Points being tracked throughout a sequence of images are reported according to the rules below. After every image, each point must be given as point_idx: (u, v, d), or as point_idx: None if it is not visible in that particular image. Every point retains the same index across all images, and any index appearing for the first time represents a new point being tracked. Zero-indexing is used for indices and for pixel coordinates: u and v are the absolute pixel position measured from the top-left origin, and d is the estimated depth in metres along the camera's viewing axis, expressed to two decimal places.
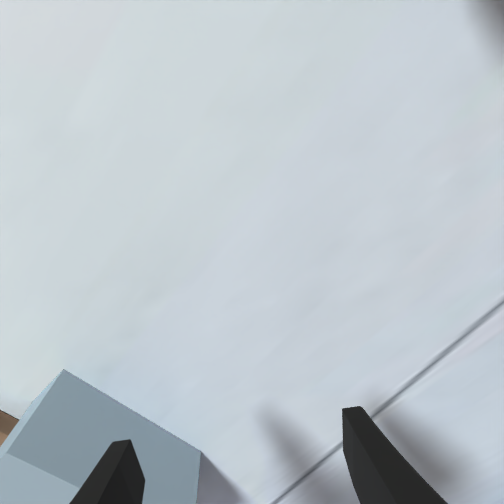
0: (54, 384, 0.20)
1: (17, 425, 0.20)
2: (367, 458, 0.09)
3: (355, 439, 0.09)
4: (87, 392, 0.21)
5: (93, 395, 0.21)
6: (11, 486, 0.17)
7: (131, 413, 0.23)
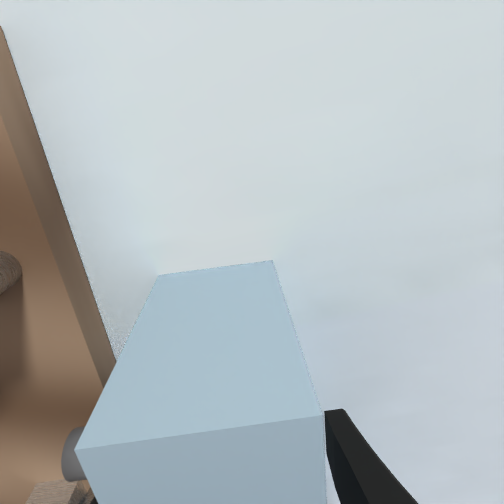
0: (278, 280, 0.09)
1: (170, 315, 0.08)
2: (345, 461, 0.09)
3: (335, 442, 0.09)
4: None
5: None
6: (200, 499, 0.05)
7: None
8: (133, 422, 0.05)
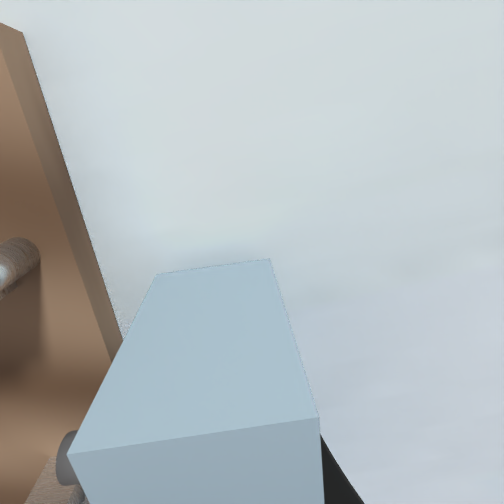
0: None
1: (166, 316, 0.08)
2: None
3: None
4: None
5: None
6: (196, 503, 0.05)
7: None
8: (127, 426, 0.05)
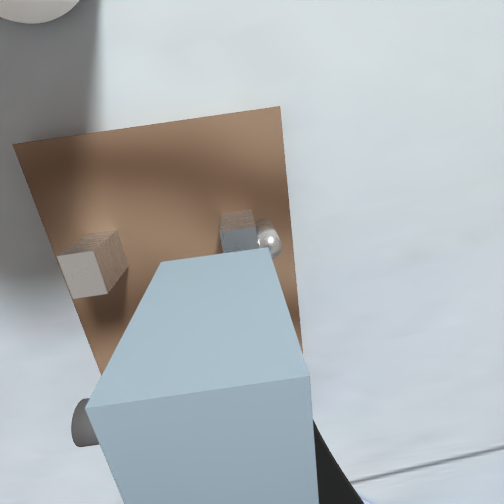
0: None
1: (171, 297, 0.08)
2: None
3: None
4: None
5: None
6: (200, 457, 0.06)
7: None
8: (138, 385, 0.05)
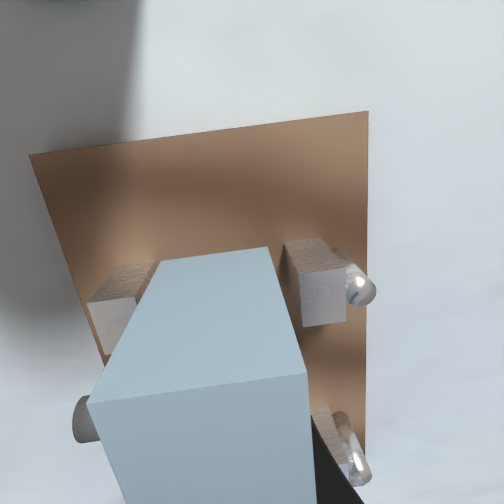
0: None
1: (171, 295, 0.08)
2: None
3: None
4: None
5: None
6: (199, 452, 0.06)
7: None
8: (138, 381, 0.05)
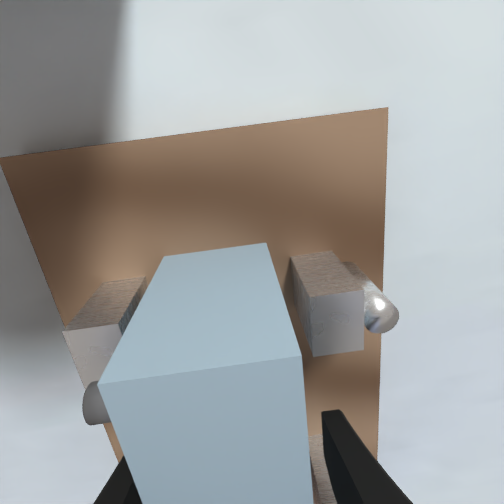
0: None
1: (174, 288, 0.09)
2: (341, 462, 0.09)
3: (331, 442, 0.09)
4: None
5: None
6: (201, 431, 0.06)
7: None
8: (145, 365, 0.06)
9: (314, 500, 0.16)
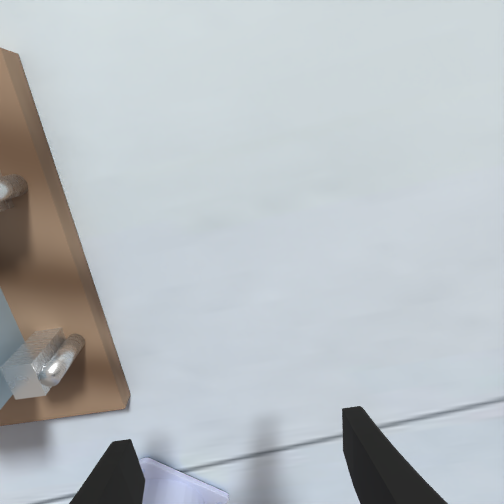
0: None
1: None
2: (367, 458, 0.09)
3: (355, 439, 0.09)
4: None
5: None
6: None
7: None
8: None
9: (65, 393, 0.20)
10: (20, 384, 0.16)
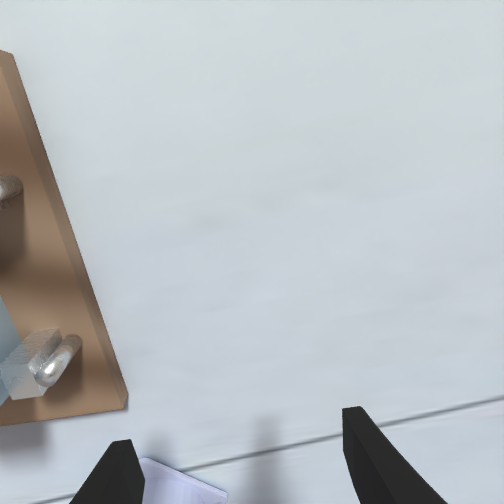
0: None
1: None
2: (367, 458, 0.09)
3: (355, 439, 0.09)
4: None
5: None
6: None
7: None
8: None
9: (62, 393, 0.20)
10: (17, 384, 0.16)
